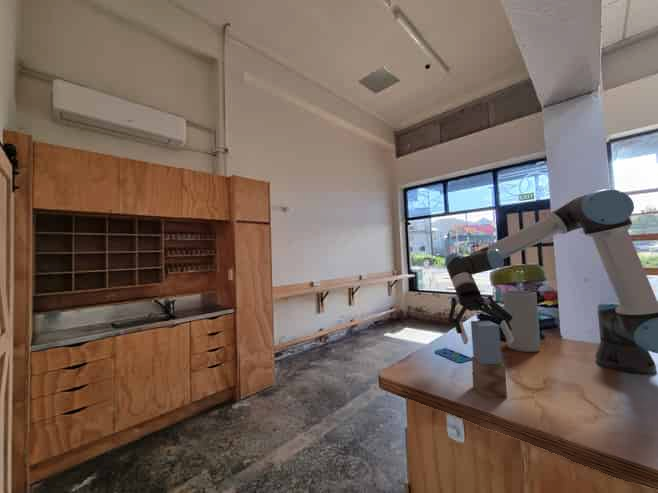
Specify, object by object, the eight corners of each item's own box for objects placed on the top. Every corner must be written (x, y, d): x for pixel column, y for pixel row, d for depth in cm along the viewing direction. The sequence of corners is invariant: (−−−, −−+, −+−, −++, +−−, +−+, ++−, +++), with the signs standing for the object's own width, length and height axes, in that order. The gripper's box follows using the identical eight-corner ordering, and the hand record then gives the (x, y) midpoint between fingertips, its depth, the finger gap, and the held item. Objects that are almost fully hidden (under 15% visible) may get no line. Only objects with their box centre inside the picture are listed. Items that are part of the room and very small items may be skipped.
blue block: (492, 356, 90) (489, 320, 90) (501, 364, 84) (498, 325, 84) (473, 357, 90) (470, 321, 91) (481, 364, 84) (478, 325, 85)
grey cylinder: (500, 343, 129) (497, 291, 130) (527, 342, 128) (523, 290, 129) (518, 353, 116) (514, 295, 117) (548, 352, 116) (543, 293, 117)
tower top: (494, 371, 90) (493, 356, 90) (506, 381, 83) (504, 365, 83) (472, 371, 91) (471, 356, 91) (481, 381, 84) (480, 365, 84)
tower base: (495, 386, 90) (494, 371, 90) (507, 398, 83) (505, 381, 83) (473, 387, 90) (472, 371, 91) (483, 398, 83) (482, 381, 84)
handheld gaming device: (446, 347, 126) (474, 357, 112) (446, 349, 126) (474, 360, 112) (432, 350, 123) (459, 361, 109) (432, 352, 123) (459, 364, 109)
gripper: (497, 292, 102) (525, 346, 86) (429, 295, 104) (445, 348, 89) (504, 280, 97) (535, 334, 81) (432, 282, 99) (450, 336, 84)
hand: (488, 341), depth 85 cm, fingers open, 13 cm apart
